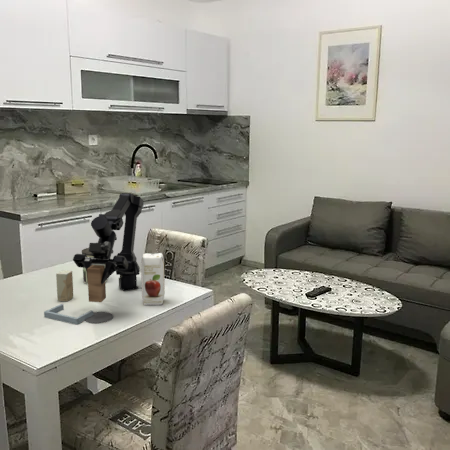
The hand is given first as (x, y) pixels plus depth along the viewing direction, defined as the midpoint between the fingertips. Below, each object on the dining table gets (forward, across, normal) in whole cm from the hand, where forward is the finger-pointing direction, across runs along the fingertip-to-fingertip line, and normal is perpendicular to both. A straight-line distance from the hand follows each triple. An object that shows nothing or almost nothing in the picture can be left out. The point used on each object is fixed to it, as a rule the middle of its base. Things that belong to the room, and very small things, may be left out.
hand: (95, 283), depth 168 cm
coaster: (+9, 0, +10) cm, 13 cm away
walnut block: (+4, 0, +6) cm, 7 cm away
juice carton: (-4, +15, +23) cm, 28 cm away
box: (-2, -20, +22) cm, 30 cm away
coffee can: (-19, -17, +38) cm, 46 cm away
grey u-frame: (+8, -10, +10) cm, 17 cm away
